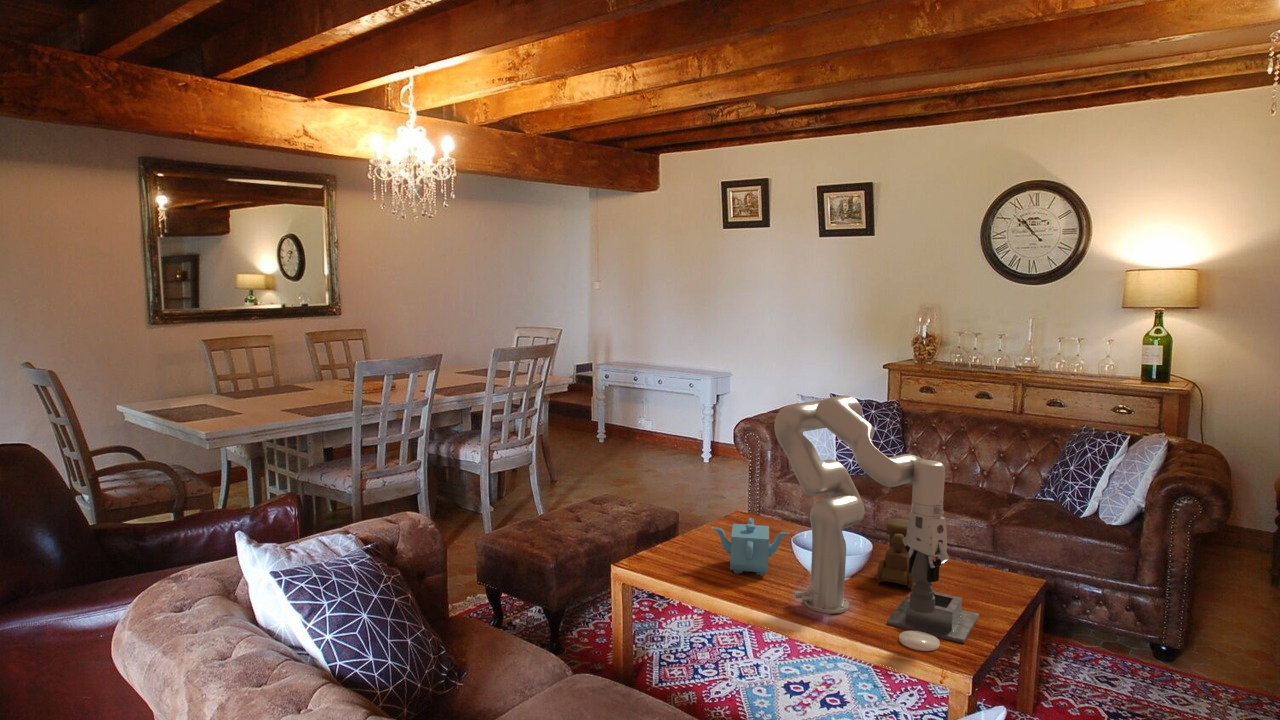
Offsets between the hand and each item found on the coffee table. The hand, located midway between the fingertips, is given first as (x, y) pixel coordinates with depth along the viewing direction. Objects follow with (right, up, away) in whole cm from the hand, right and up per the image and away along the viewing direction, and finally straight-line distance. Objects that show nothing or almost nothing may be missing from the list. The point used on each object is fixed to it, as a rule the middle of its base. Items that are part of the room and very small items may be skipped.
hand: (923, 576), depth 203 cm
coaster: (0, -18, +2) cm, 18 cm away
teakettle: (-38, -12, +53) cm, 66 cm away
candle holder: (0, -9, +1) cm, 9 cm away
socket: (+8, -16, +15) cm, 24 cm away
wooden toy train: (+9, -14, +46) cm, 48 cm away
